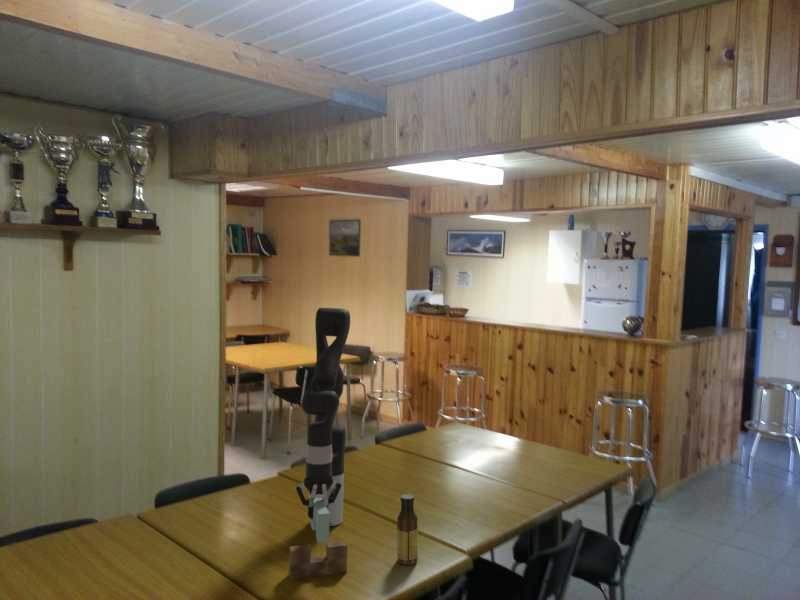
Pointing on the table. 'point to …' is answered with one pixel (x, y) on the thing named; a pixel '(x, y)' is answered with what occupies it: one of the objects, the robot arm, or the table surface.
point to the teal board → (320, 520)
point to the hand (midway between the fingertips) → (317, 517)
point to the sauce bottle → (407, 532)
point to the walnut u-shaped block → (318, 561)
